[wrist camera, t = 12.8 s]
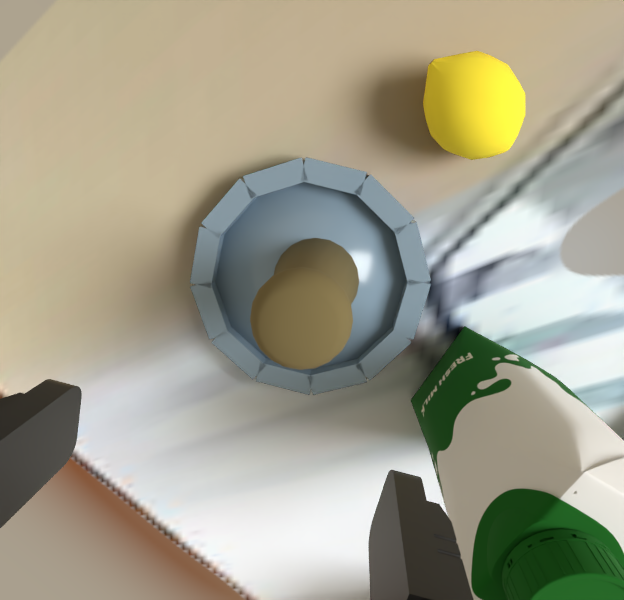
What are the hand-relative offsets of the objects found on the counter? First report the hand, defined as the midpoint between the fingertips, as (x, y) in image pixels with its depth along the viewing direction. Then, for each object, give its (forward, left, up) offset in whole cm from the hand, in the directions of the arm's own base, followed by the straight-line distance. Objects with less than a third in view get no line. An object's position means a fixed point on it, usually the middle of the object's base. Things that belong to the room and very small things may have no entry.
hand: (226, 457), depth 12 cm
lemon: (-13, +7, -23) cm, 27 cm away
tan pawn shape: (0, +1, -22) cm, 22 cm away
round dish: (0, 0, -22) cm, 22 cm away
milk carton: (+5, +14, -23) cm, 27 cm away
